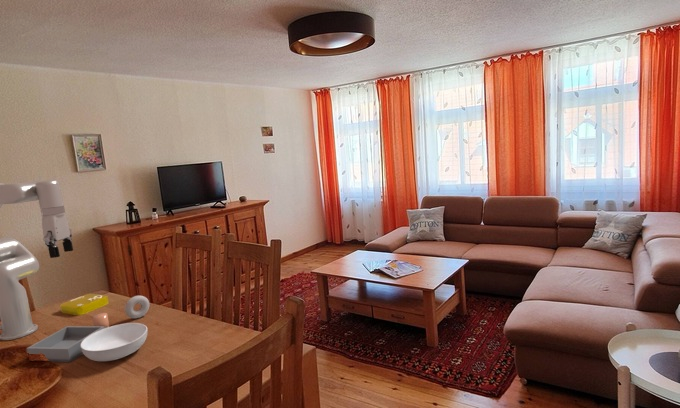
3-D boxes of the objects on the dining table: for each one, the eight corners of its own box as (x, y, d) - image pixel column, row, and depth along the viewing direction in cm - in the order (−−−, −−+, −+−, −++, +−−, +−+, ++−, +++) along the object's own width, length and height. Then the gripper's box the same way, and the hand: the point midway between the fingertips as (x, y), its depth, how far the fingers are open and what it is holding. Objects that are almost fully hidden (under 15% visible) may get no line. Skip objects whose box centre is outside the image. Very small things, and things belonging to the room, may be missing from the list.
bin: (29, 361, 139) (26, 348, 138) (69, 338, 155) (66, 326, 154) (70, 362, 136) (67, 348, 135) (106, 338, 152) (104, 326, 152)
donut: (128, 323, 166) (124, 300, 164) (125, 320, 168) (121, 298, 167) (152, 314, 173) (149, 293, 171) (149, 312, 175) (146, 291, 174)
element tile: (90, 301, 197) (89, 292, 197) (110, 303, 191) (109, 294, 190) (59, 313, 184) (57, 303, 183) (80, 316, 178) (78, 306, 177)
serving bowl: (103, 376, 126) (99, 356, 125) (72, 361, 137) (68, 342, 136) (161, 346, 143) (159, 328, 142) (129, 335, 154) (127, 318, 153)
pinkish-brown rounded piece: (92, 334, 157) (89, 318, 156) (101, 328, 162) (99, 312, 161) (103, 334, 156) (100, 318, 155) (112, 328, 161) (110, 312, 160)
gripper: (55, 210, 160) (64, 250, 162) (28, 216, 143) (38, 261, 145) (75, 207, 161) (83, 247, 163) (50, 213, 144) (60, 258, 146)
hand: (62, 254), depth 154 cm, fingers open, 9 cm apart
